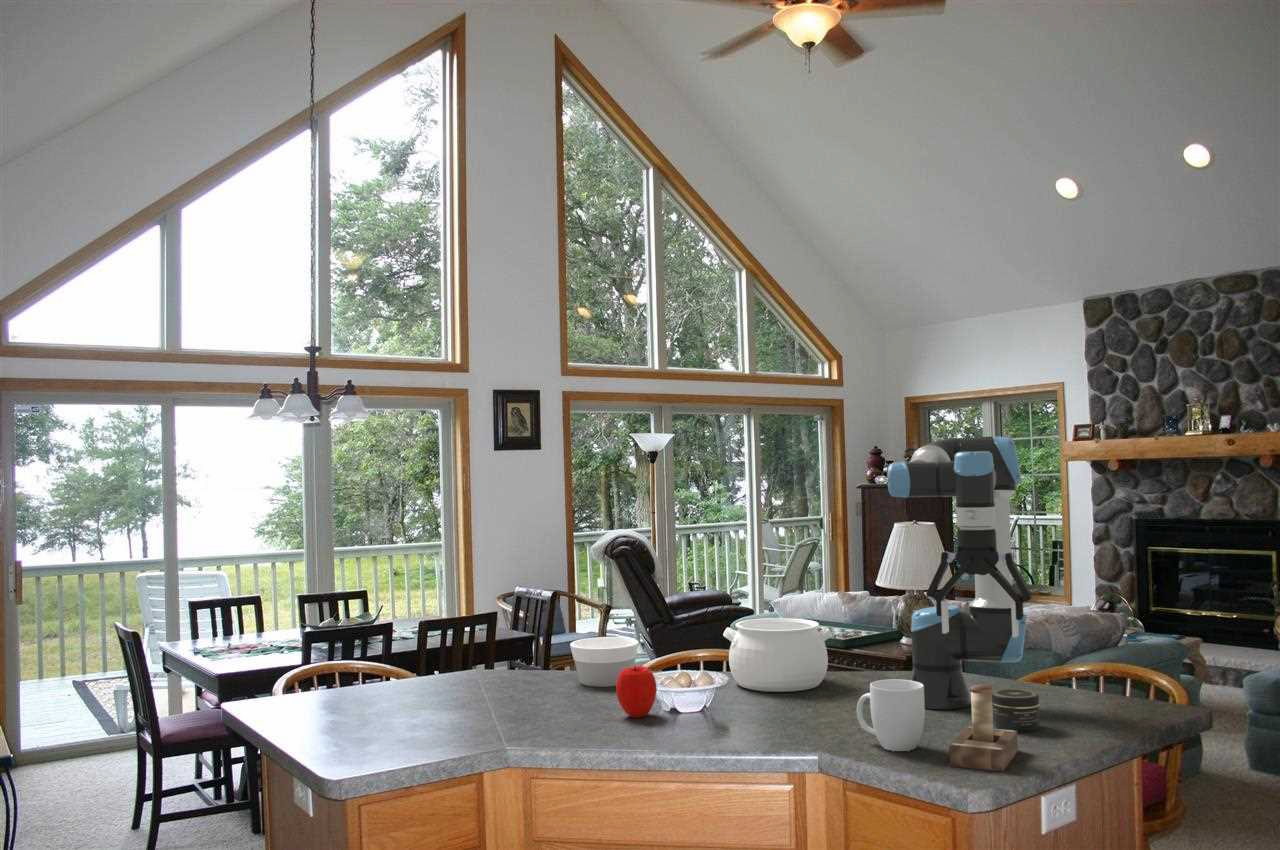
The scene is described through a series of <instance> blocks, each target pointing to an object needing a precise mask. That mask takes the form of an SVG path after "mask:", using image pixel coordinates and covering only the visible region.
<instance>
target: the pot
mask: <svg viewBox="0 0 1280 850" xmlns="http://www.w3.org/2000/svg"><path fill="white" fill-rule="evenodd" d="M819 623H820V622H817V621H815V620H811V619H804V618H794V617H793V618H792V617H791V618H790V617H769V618H767V617H765V618H764V617H763V618H753V619H747V620H741V621H738V622H736V623H735V628H737V630H735V629H733V628H731V627H726V628H725V630H724V632H723V634H722V635H723V637H724V638H725V639H727V640H729V641H730V646H729V650H728V651H729V652H728V665H729V669H730V672H731V675H732V678H733V679H734V681H735V682H736V683H737V684H738V686H740V687H742V688H745V689H747V690H751V691H757V692H766V693H792V692H803V691H807V690H810V689H814V688H816V687H818V686H820V684H821V683H822V681H823V680H824V679H825V677H826V674H827V671H828V670H827V669H828V666H829V663H828V661H829V656H828V651H827V645H826V642H825V641H827V640H829V639H830V638H832V637H833V633H832V631H831V629H830V628H829V627H828V628H826V629H824V630H823V631H821V632H819V630H818V628H819V626H820V624H819Z"/></svg>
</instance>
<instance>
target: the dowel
mask: <svg viewBox="0 0 1280 850" xmlns="http://www.w3.org/2000/svg"><path fill="white" fill-rule="evenodd" d="M992 692H993V687H992V686H990V685H985V684H983V685H982V684H976V685H971V686H970V695H971V704H970V706H971V707H970V708H971V727H972V737H973V740H974V741H984V742H994V738H993V729H994V721H993V709H992Z"/></svg>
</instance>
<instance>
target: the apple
mask: <svg viewBox="0 0 1280 850" xmlns="http://www.w3.org/2000/svg"><path fill="white" fill-rule="evenodd" d="M657 690H658V689H657V682H656V677H655V675H654V674H653V671H652V670H651V669H650V668H649V667H647V666H643V665H641V666H640V665H638V666H636V664H634V667H631V668H626V669H623V670H622V671H621V672H620V673H619V676H618V678H617V682H616V686H615V692H616V698H617V700H618V703H619V705H620V707H621V708H622V710H623V711H624V712H625V714H626V715H627V716H629V717H632V718H634V719H638V718H639V719H641V718H644V717H646V716H647V715H648V714H649V713H650V712H651V709H652V708H653V706H654V704H655V702H656V696H657Z"/></svg>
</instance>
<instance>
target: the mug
mask: <svg viewBox="0 0 1280 850" xmlns="http://www.w3.org/2000/svg"><path fill="white" fill-rule="evenodd" d="M866 699H869V702H870V707H869V709H870V715H871V722H872V726H873V727H871V726H869V725H868V724H867V722H866V720H865V719H864V714H863V713H864V712H863V707H864V703H865V701H866ZM925 711H926V708H925V702H924V685H923V684H922V683H919V682H916V681H911V680H910V679H909V680H908V679H879V680H876V681H875V680H874V681H872V682H870V684H869V692H867V693H864V694H862V695H861V696H860V697H859V699H858V702H857V704H856V718H857V721H858V723H859V726H860V727H861V728H862V729H863V730H864V731H866V732H867V733H868V734H872V735H874V736H876V739H877V740H878V742H879V744H880V746H881V747H882V748H883V749H884V750H886V751H889V750H891V751H890V752H895V751H907V752H911V751H910V750H912V751H914V750H915V749H916V748H917V747H918V745H919V742H920V740H921V738H922V734H923V730H924V727H925V726H924V725H925V715H926V713H925ZM913 749H914V750H913Z"/></svg>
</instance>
